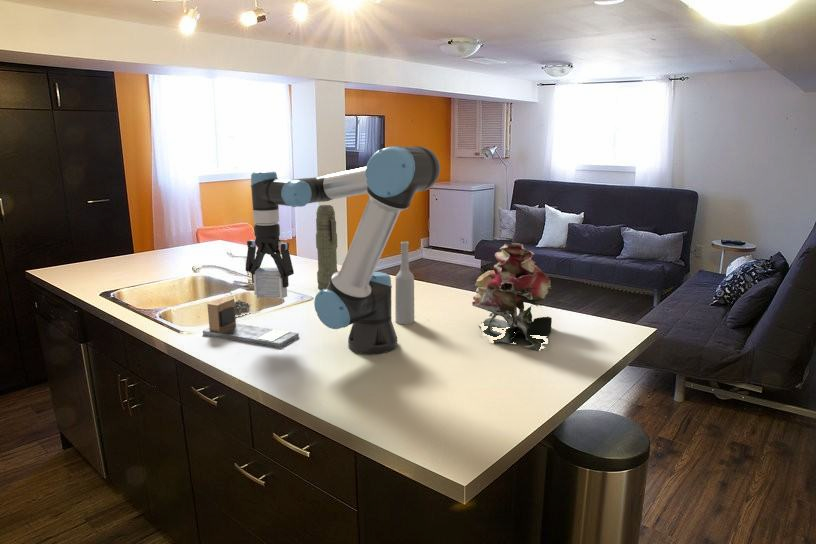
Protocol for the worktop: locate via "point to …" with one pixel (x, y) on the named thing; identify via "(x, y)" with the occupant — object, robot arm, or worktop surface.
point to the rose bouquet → (513, 295)
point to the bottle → (404, 290)
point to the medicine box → (267, 282)
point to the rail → (242, 327)
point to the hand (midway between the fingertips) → (270, 295)
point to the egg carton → (241, 307)
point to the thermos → (326, 245)
